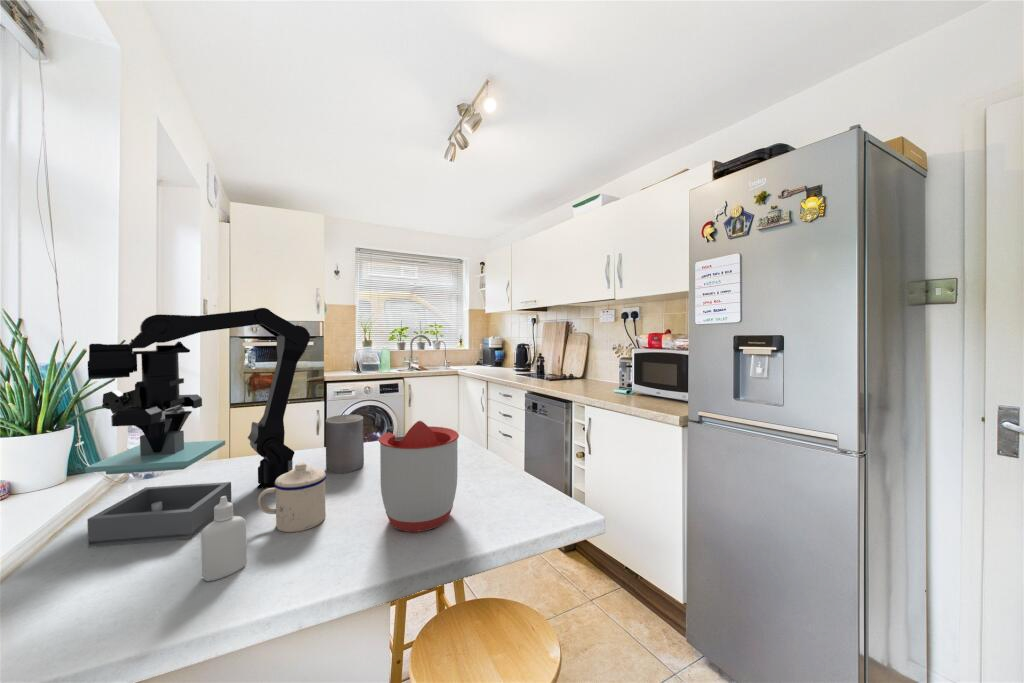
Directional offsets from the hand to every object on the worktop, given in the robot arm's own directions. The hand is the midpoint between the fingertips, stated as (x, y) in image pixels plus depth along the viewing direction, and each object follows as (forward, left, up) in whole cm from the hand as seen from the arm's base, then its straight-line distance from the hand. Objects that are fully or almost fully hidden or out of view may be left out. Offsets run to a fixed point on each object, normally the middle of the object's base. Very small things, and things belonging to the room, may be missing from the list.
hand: (162, 449), depth 82 cm
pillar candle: (-31, -21, -13) cm, 40 cm away
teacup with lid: (-28, +10, -13) cm, 33 cm away
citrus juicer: (-52, +12, -13) cm, 55 cm away
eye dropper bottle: (-23, +25, -13) cm, 37 cm away
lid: (0, 0, -3) cm, 3 cm away
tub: (-4, +6, -13) cm, 15 cm away
